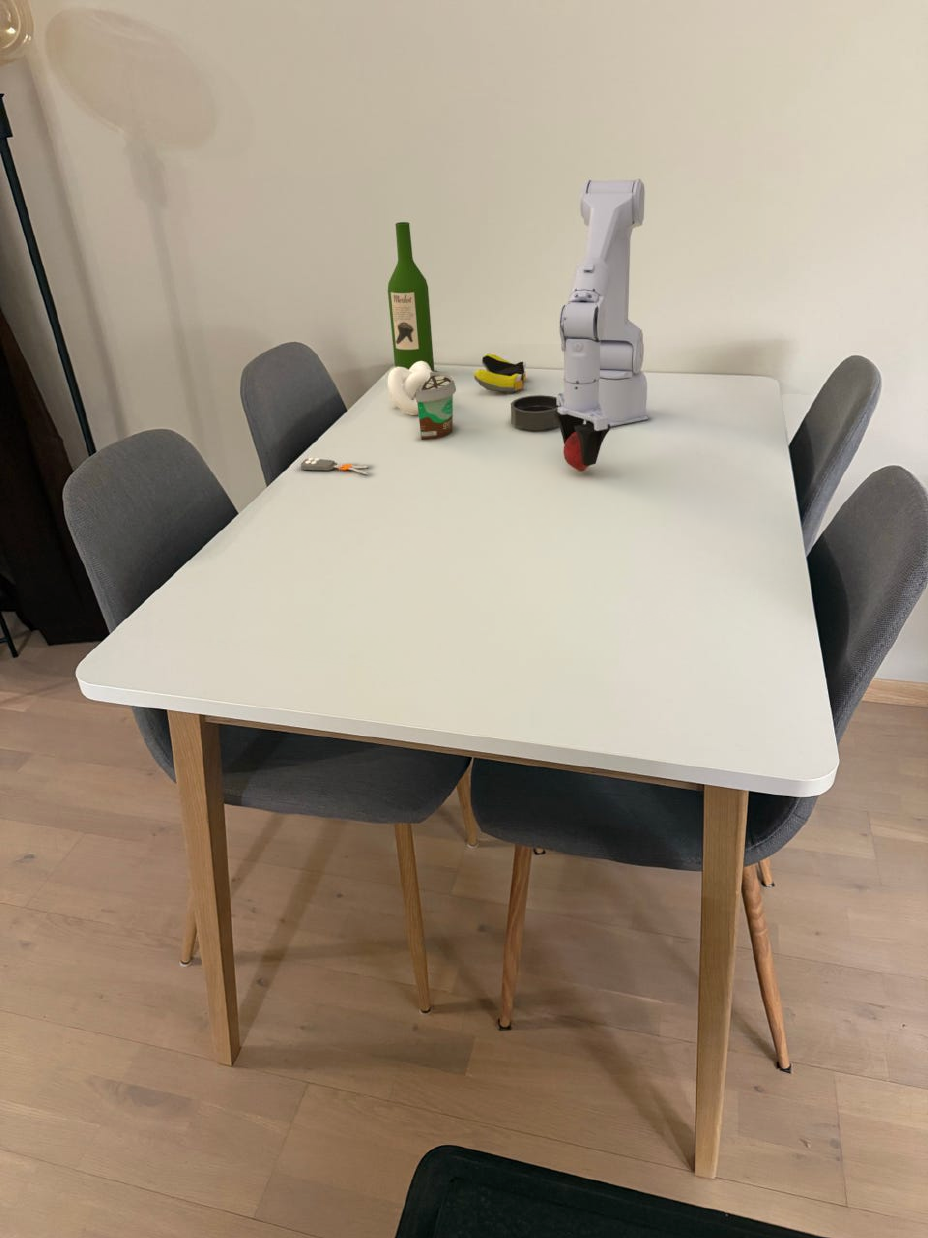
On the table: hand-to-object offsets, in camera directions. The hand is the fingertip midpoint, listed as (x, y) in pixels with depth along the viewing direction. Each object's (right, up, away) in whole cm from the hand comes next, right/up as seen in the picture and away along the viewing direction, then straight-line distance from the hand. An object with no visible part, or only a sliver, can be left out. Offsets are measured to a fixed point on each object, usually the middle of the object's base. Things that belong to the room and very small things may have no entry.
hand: (580, 457), depth 153 cm
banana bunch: (-12, +23, +44) cm, 51 cm away
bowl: (-5, +11, +23) cm, 26 cm away
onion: (0, -2, +1) cm, 3 cm away
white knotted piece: (-30, +17, +35) cm, 49 cm away
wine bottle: (-31, +29, +55) cm, 69 cm away
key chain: (-43, -1, +9) cm, 44 cm away
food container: (-24, +9, +23) cm, 34 cm away
